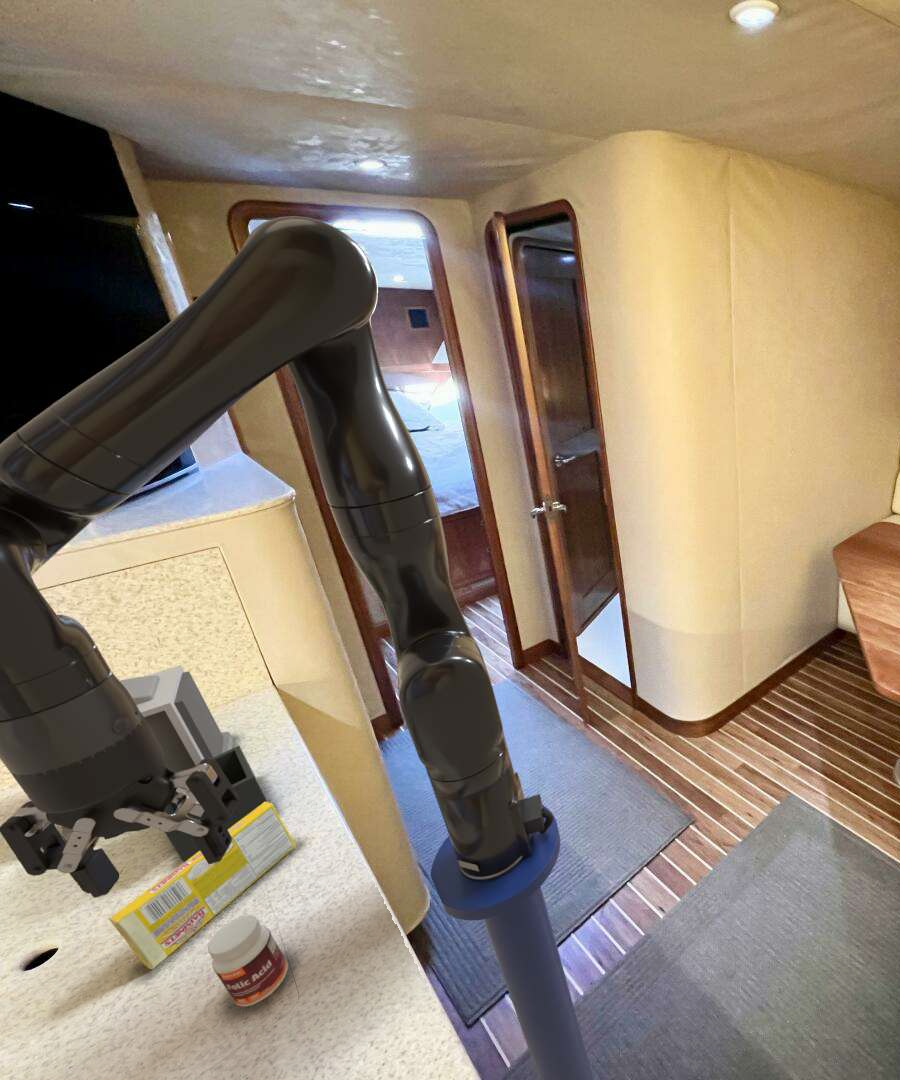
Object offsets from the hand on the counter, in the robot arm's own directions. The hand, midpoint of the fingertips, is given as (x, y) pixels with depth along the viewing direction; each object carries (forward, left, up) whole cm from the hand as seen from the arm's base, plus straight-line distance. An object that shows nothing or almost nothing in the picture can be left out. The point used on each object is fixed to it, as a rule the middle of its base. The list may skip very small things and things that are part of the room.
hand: (165, 871), depth 50 cm
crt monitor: (+28, -43, -20) cm, 55 cm away
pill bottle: (-1, -1, -20) cm, 20 cm away
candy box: (+7, -14, -20) cm, 25 cm away
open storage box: (+14, -30, -20) cm, 38 cm away
